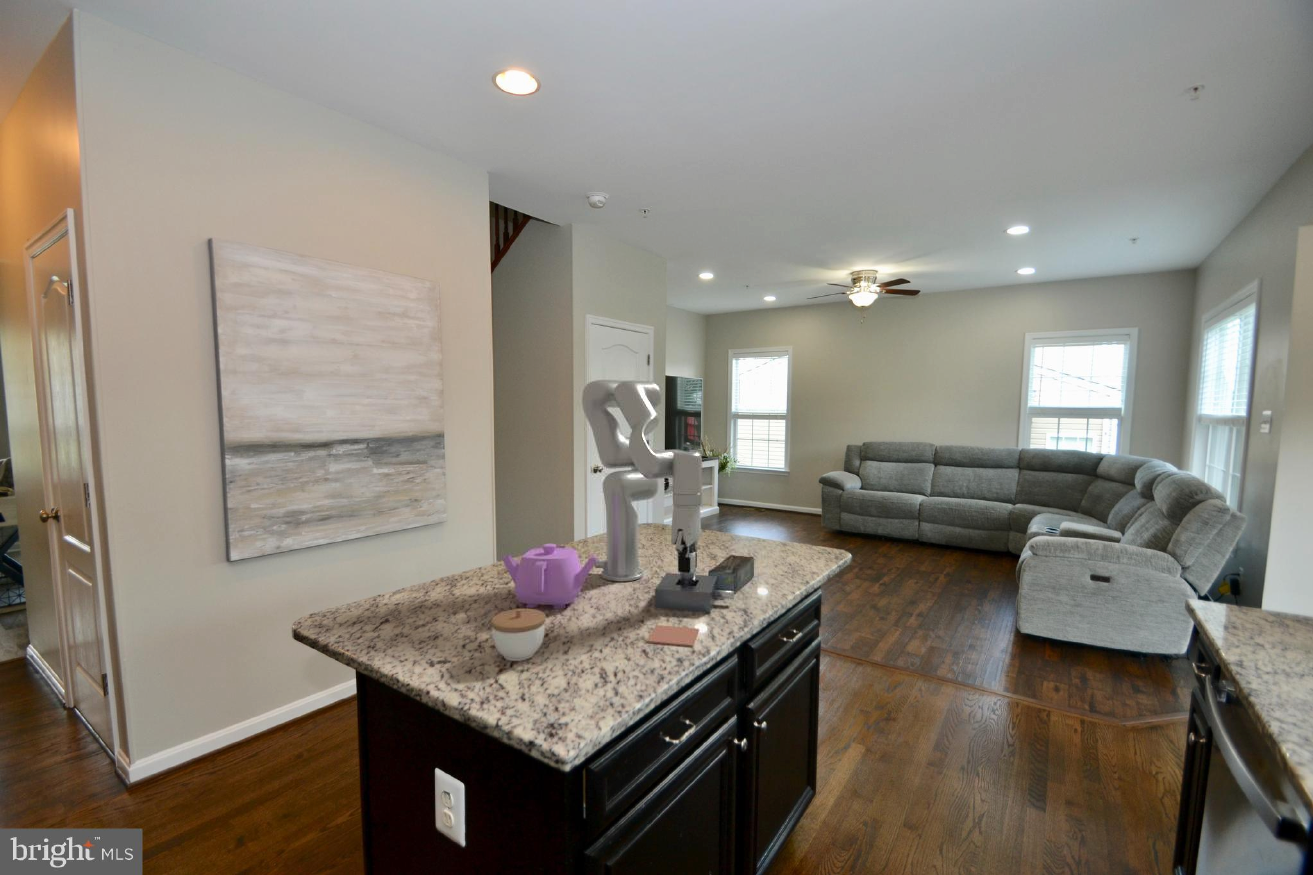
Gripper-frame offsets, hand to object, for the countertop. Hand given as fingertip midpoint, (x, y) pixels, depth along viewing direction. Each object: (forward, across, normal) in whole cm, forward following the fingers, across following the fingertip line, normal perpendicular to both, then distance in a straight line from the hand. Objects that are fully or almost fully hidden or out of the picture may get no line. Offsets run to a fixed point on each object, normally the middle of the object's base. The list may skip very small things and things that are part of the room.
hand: (687, 569), depth 147 cm
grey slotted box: (+9, 0, +2) cm, 9 cm away
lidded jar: (+9, +44, -20) cm, 49 cm away
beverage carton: (+9, -19, +6) cm, 22 cm away
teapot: (+9, +14, -33) cm, 37 cm away
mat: (+9, +22, +5) cm, 25 cm away
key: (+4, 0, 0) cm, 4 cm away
